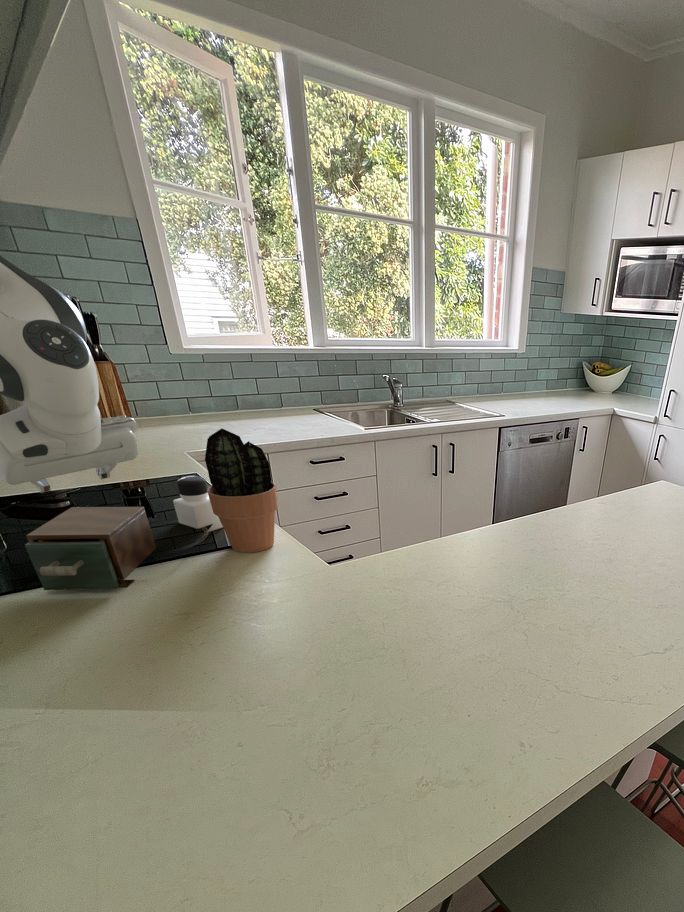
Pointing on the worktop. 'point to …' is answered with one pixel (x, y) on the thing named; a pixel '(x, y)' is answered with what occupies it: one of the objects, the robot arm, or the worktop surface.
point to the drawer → (73, 564)
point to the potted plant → (241, 491)
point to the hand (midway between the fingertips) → (74, 482)
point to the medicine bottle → (195, 504)
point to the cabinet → (105, 533)
